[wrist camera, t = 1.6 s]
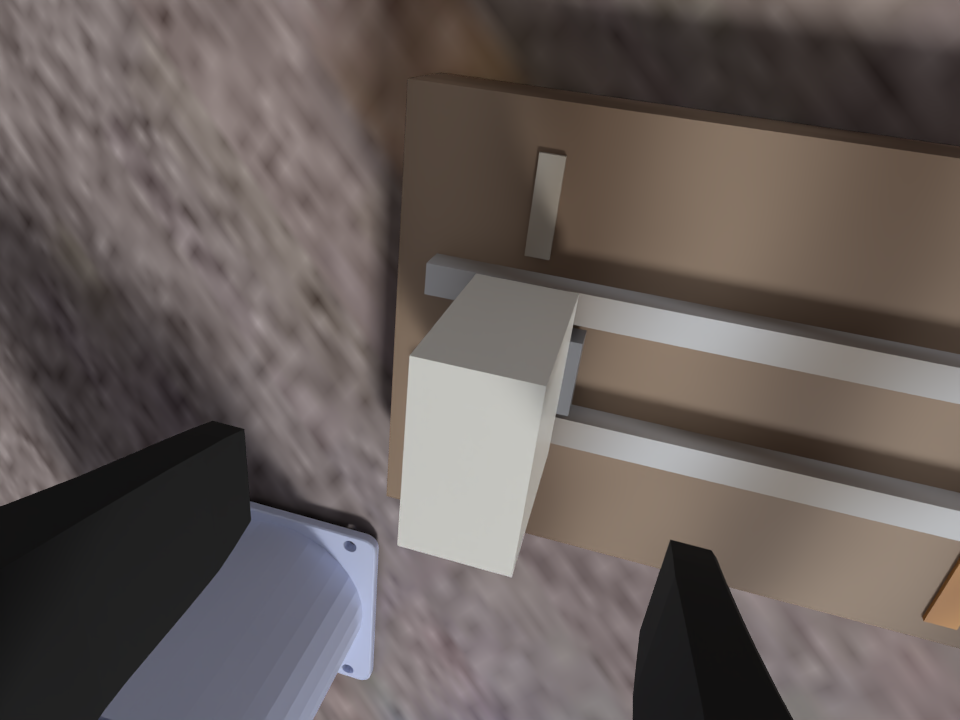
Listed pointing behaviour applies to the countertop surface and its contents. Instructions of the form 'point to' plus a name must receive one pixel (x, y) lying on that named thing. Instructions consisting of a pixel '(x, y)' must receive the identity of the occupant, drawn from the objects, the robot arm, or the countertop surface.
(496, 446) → the block
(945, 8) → the countertop surface
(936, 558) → the tan slider track board
